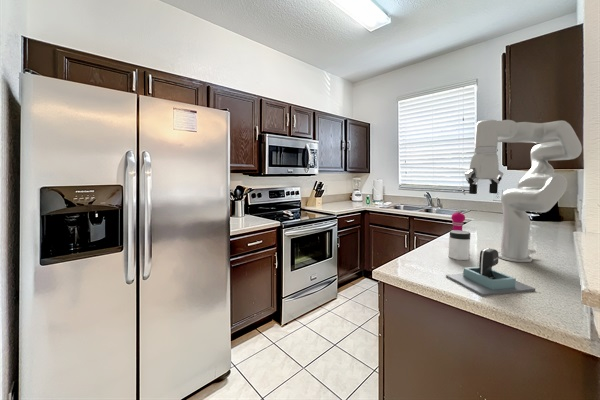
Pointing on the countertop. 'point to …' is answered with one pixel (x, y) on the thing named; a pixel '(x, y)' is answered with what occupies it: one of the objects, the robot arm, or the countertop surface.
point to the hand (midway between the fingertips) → (483, 193)
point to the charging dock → (489, 282)
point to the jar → (459, 245)
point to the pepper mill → (458, 220)
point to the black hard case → (487, 262)
